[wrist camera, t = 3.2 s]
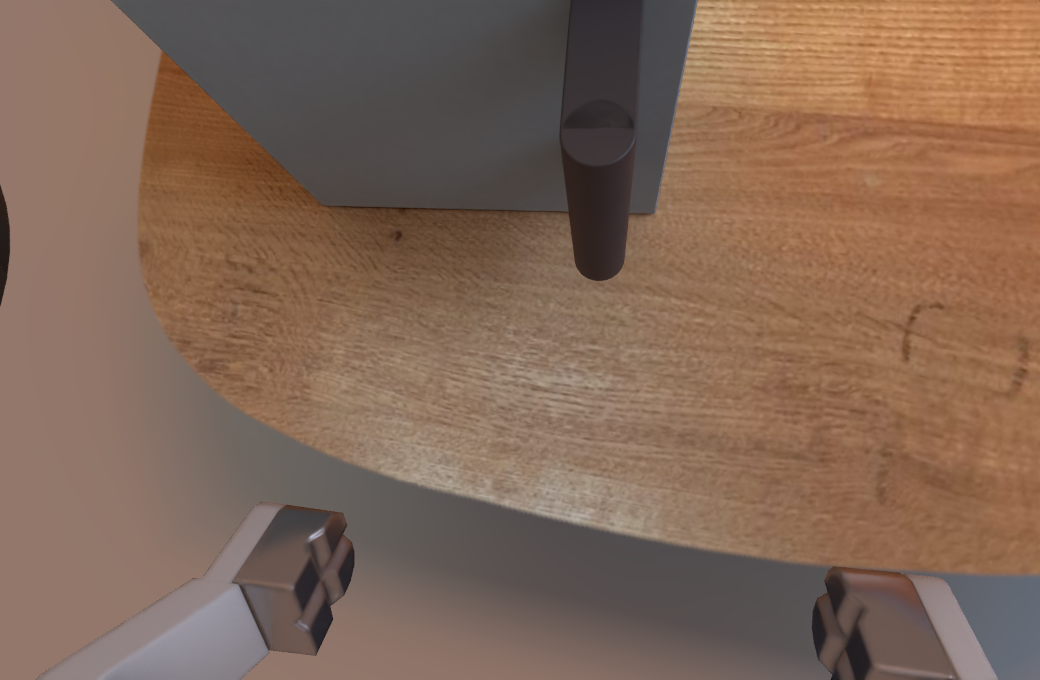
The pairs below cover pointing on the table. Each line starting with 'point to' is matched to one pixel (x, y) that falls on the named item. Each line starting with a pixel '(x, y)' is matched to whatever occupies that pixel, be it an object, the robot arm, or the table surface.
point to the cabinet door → (449, 100)
